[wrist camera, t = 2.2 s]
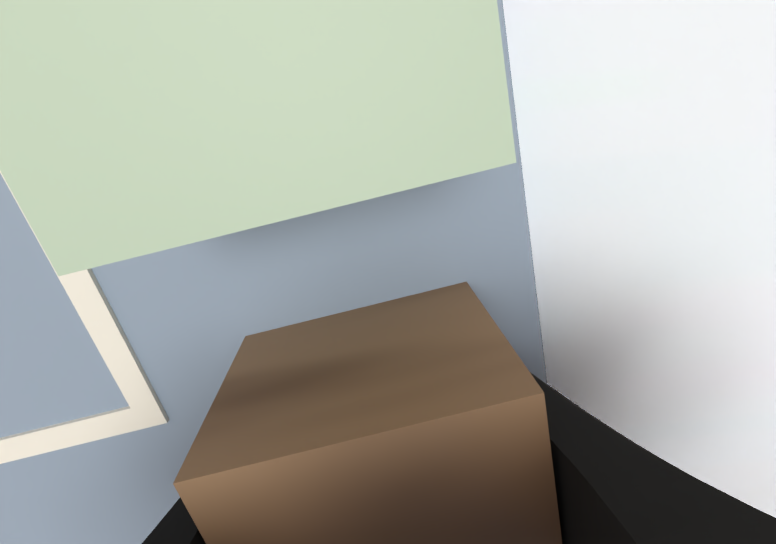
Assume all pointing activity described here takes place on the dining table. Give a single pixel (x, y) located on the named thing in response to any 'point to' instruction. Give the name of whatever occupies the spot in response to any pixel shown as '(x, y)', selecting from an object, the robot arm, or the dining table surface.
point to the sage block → (236, 113)
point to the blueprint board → (214, 335)
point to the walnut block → (376, 433)
